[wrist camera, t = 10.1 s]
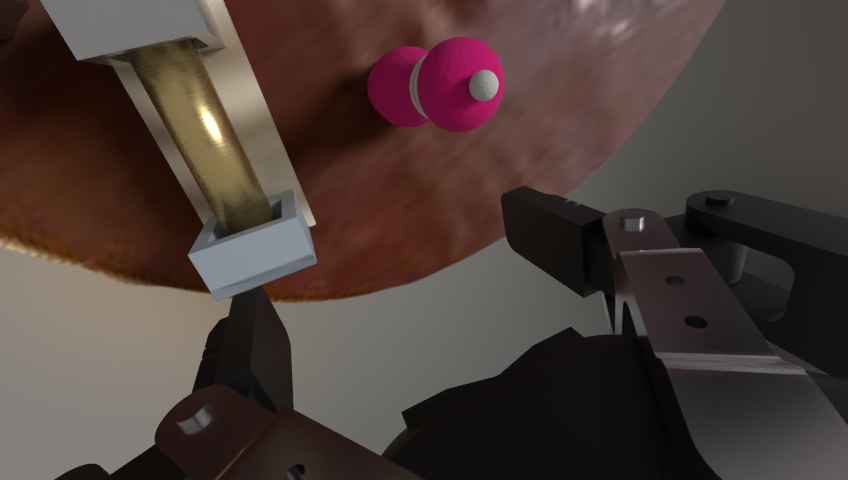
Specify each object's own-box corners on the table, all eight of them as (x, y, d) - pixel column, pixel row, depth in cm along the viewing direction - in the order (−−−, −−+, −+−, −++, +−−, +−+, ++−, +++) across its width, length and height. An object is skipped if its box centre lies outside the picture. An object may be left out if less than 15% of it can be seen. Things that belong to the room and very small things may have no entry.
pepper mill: (369, 129, 39) (442, 158, 22) (355, 55, 36) (426, 21, 19) (430, 117, 41) (541, 136, 24) (422, 46, 38) (542, 8, 20)
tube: (117, 23, 26) (88, 10, 22) (184, 9, 27) (168, -6, 23) (234, 237, 34) (228, 257, 30) (282, 221, 35) (282, 237, 31)
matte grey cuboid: (92, -2, 27) (14, -41, 19) (197, -21, 29) (165, -65, 21) (132, 69, 29) (77, 60, 21) (226, 47, 31) (208, 31, 23)
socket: (209, 216, 35) (187, 255, 27) (292, 189, 37) (296, 217, 29) (230, 254, 37) (216, 301, 29) (308, 226, 39) (317, 263, 31)
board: (73, -11, 27) (66, -14, 26) (208, -35, 30) (206, -39, 29) (224, 253, 38) (222, 257, 37) (315, 221, 40) (315, 224, 40)
